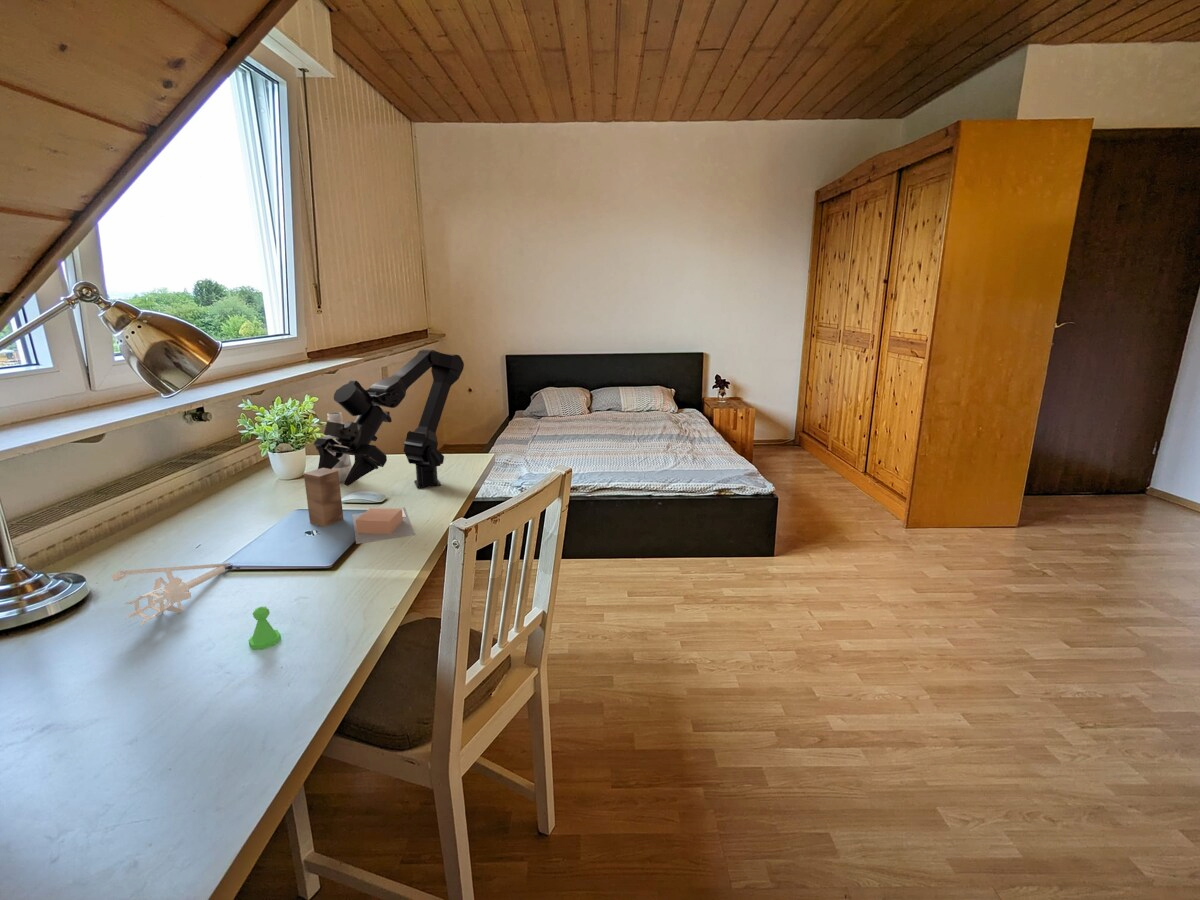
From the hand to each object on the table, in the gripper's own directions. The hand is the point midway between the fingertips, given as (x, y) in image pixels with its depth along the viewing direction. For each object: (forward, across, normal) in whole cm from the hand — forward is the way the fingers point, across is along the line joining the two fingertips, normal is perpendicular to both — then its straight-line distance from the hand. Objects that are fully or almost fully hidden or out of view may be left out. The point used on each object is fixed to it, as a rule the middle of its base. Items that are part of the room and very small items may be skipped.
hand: (331, 482), depth 129 cm
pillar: (+9, 0, +5) cm, 10 cm away
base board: (+5, +13, +8) cm, 16 cm away
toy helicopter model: (+33, +7, -18) cm, 38 cm away
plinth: (+6, +13, +7) cm, 16 cm away
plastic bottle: (-8, -23, +22) cm, 33 cm away
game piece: (+34, +30, -20) cm, 50 cm away
